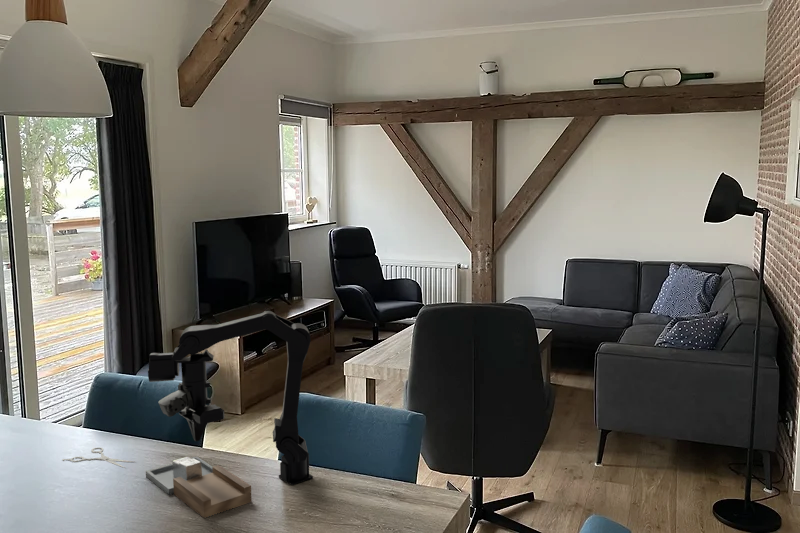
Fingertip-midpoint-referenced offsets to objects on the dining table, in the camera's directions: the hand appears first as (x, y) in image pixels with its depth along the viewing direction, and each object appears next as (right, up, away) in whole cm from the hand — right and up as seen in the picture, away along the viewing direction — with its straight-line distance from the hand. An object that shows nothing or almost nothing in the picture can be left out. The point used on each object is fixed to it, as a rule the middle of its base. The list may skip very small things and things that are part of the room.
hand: (197, 440), depth 172 cm
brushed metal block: (-3, -10, +3) cm, 11 cm away
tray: (-5, -11, +7) cm, 14 cm away
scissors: (-31, -10, +19) cm, 37 cm away
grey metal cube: (-4, -9, +5) cm, 11 cm away
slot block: (+5, -13, -5) cm, 14 cm away
